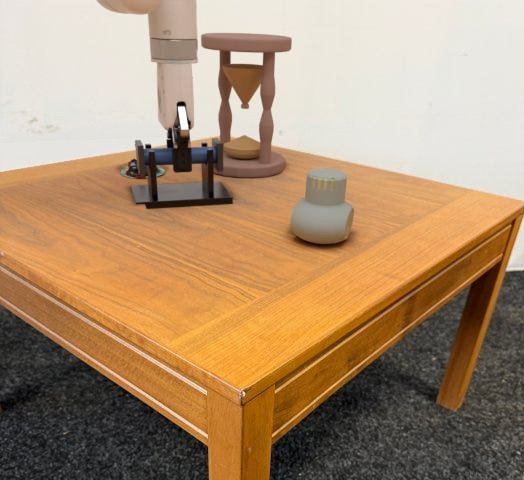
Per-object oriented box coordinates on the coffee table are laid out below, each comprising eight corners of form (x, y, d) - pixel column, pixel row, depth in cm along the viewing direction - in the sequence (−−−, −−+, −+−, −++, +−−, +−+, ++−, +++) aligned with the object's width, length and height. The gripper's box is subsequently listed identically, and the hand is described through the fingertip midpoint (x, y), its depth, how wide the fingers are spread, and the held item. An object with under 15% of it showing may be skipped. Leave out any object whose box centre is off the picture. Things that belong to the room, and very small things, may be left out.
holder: (136, 209, 94) (131, 155, 89) (131, 192, 102) (126, 141, 97) (232, 203, 98) (233, 151, 94) (220, 187, 106) (220, 139, 102)
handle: (140, 175, 94) (137, 145, 91) (137, 168, 98) (134, 140, 95) (223, 171, 97) (223, 143, 95) (217, 165, 101) (217, 137, 99)
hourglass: (191, 161, 122) (186, 32, 109) (258, 154, 130) (262, 33, 116) (227, 182, 110) (227, 38, 96) (300, 173, 117) (309, 39, 104)
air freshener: (304, 223, 91) (308, 161, 86) (353, 230, 89) (361, 167, 84) (285, 246, 82) (289, 179, 77) (340, 254, 80) (348, 186, 75)
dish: (170, 163, 111) (137, 139, 109) (150, 192, 110) (117, 168, 108) (166, 172, 118) (136, 150, 116) (147, 199, 118) (117, 177, 116)
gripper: (144, 46, 93) (152, 156, 103) (157, 56, 80) (165, 181, 89) (188, 47, 95) (192, 154, 105) (208, 57, 82) (210, 179, 91)
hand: (179, 166), depth 97 cm, fingers open, 5 cm apart
